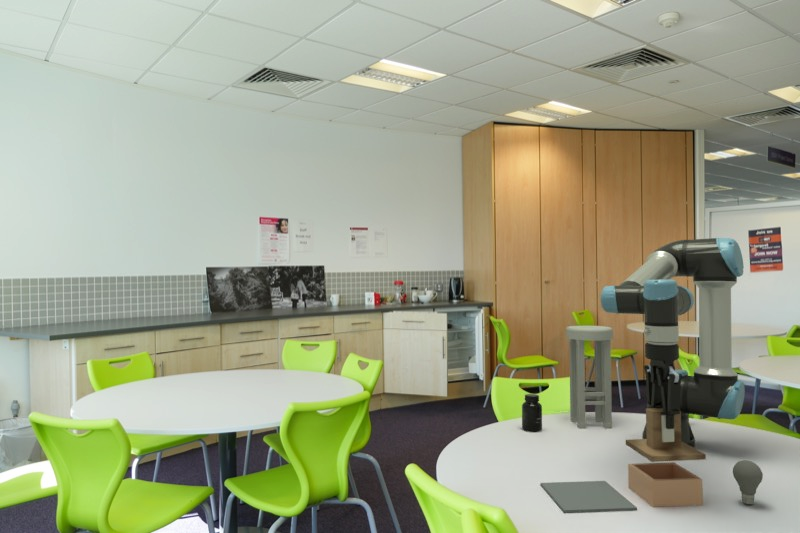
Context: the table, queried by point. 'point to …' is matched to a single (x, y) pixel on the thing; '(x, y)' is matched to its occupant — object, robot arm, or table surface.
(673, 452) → the lid
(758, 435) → the table surface
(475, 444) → the table surface
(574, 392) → the stool
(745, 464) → the light bulb
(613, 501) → the mat
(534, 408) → the supplement bottle
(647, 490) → the open tan tray
